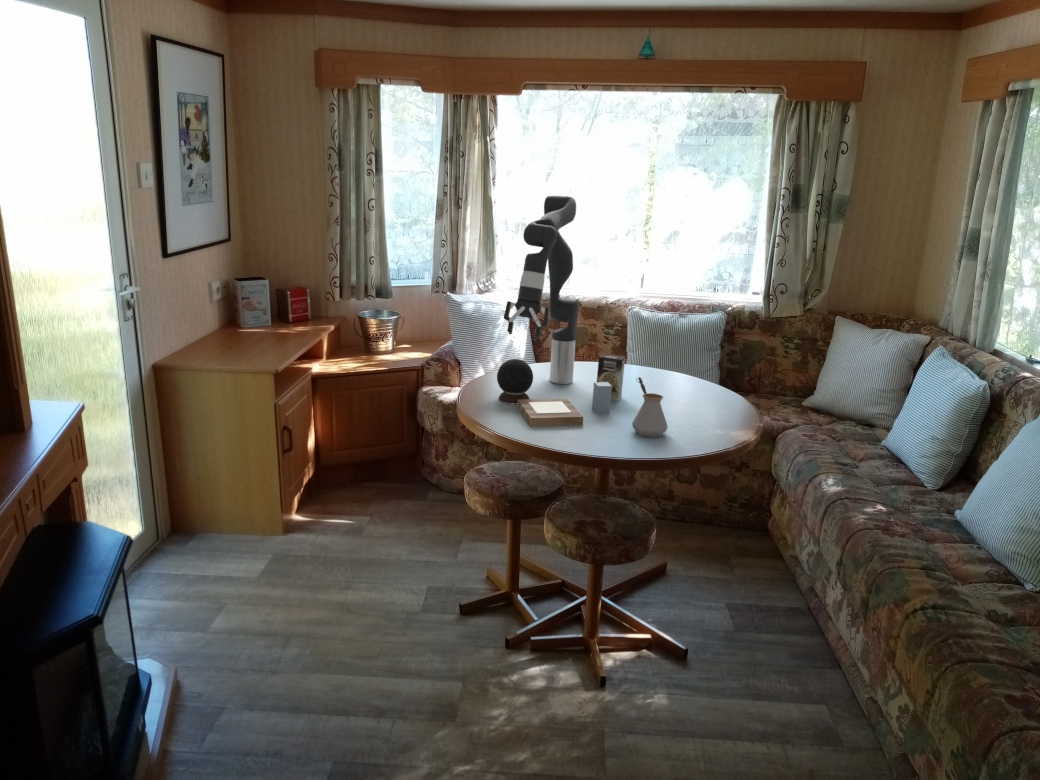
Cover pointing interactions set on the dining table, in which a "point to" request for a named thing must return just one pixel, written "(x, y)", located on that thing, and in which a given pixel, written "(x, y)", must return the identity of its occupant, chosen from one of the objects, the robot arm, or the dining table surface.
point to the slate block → (601, 397)
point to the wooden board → (549, 412)
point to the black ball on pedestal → (514, 380)
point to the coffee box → (612, 373)
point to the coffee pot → (650, 415)
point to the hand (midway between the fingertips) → (523, 336)
